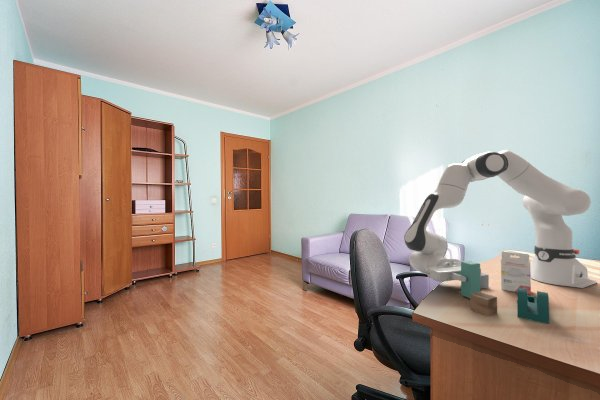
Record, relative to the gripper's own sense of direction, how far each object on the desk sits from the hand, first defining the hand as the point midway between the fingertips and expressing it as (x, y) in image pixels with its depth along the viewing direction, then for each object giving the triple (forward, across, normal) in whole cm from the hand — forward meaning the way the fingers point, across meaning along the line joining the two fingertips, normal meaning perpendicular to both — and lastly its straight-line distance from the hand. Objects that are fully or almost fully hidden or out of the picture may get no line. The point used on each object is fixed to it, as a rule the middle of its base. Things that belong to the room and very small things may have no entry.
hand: (472, 278), depth 91 cm
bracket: (+12, +9, +7) cm, 17 cm away
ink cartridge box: (-2, +23, +7) cm, 24 cm away
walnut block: (+9, -6, +7) cm, 13 cm away
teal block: (-1, 0, +6) cm, 7 cm away
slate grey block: (-10, +14, +7) cm, 18 cm away
